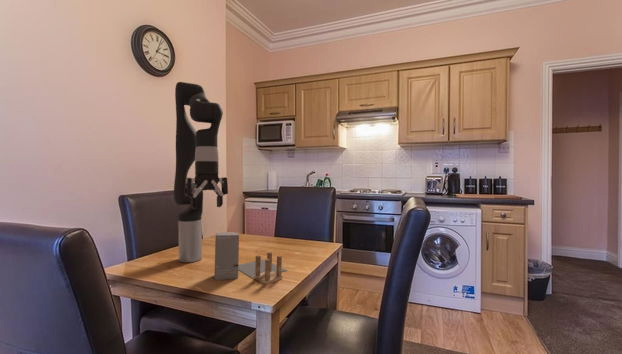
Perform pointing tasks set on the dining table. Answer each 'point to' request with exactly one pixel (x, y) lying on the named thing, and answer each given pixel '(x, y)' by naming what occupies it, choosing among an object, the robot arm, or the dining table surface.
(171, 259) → the dining table surface
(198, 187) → the robot arm
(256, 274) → the stool
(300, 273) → the dining table surface
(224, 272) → the skincare box
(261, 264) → the mat
